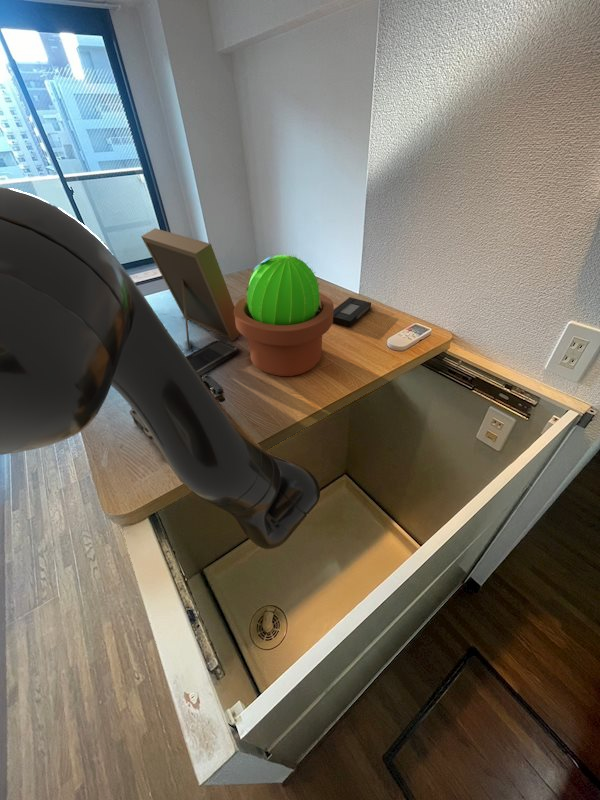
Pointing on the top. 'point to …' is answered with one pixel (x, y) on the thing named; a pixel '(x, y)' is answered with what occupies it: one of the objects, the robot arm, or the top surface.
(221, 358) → the phone
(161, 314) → the top surface
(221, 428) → the robot arm
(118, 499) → the top surface
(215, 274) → the photo frame
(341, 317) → the vhs tape
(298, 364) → the potted cactus
